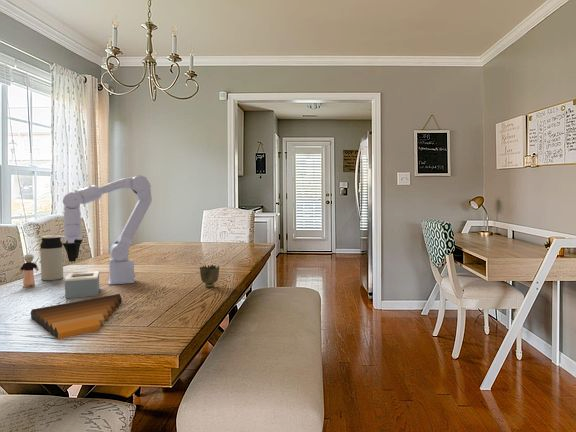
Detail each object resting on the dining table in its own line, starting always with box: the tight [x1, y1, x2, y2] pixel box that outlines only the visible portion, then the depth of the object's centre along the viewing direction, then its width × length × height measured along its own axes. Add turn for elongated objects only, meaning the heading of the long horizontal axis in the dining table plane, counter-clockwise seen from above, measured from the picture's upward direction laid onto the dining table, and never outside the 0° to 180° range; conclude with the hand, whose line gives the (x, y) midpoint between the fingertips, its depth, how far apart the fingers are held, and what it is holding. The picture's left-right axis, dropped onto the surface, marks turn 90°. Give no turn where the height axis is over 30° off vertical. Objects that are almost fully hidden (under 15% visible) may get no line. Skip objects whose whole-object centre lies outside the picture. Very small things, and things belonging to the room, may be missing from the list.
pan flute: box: [30, 293, 123, 340], centre depth 117 cm, size 25×3×25 cm
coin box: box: [64, 270, 100, 299], centre depth 146 cm, size 10×12×6 cm
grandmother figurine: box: [18, 253, 40, 288], centre depth 157 cm, size 8×4×13 cm, turn 168°
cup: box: [199, 264, 220, 289], centre depth 155 cm, size 8×7×8 cm
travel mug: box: [39, 234, 64, 281], centre depth 170 cm, size 8×8×18 cm
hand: (73, 259), depth 155 cm, fingers open, 7 cm apart
